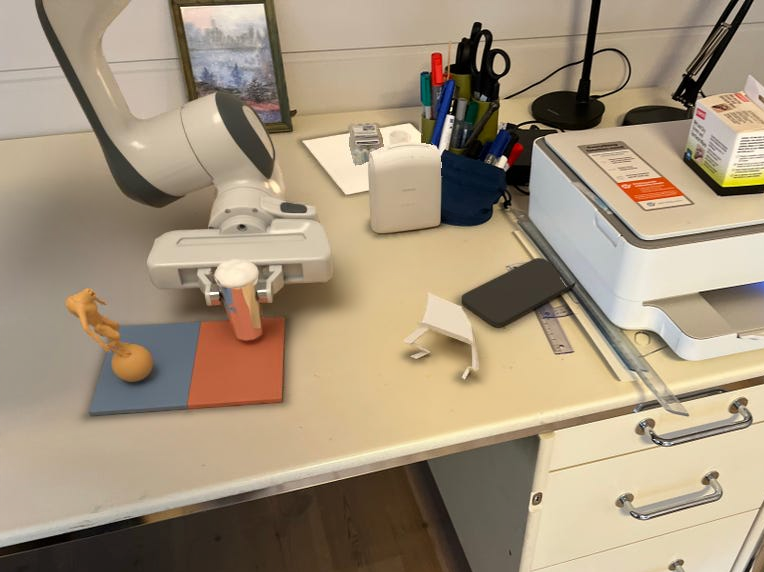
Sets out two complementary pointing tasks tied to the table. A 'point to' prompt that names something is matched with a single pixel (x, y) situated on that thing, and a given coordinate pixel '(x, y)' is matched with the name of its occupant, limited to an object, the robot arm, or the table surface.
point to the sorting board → (195, 368)
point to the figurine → (110, 337)
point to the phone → (515, 292)
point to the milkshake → (241, 297)
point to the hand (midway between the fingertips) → (239, 299)
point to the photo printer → (404, 187)
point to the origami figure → (445, 327)
